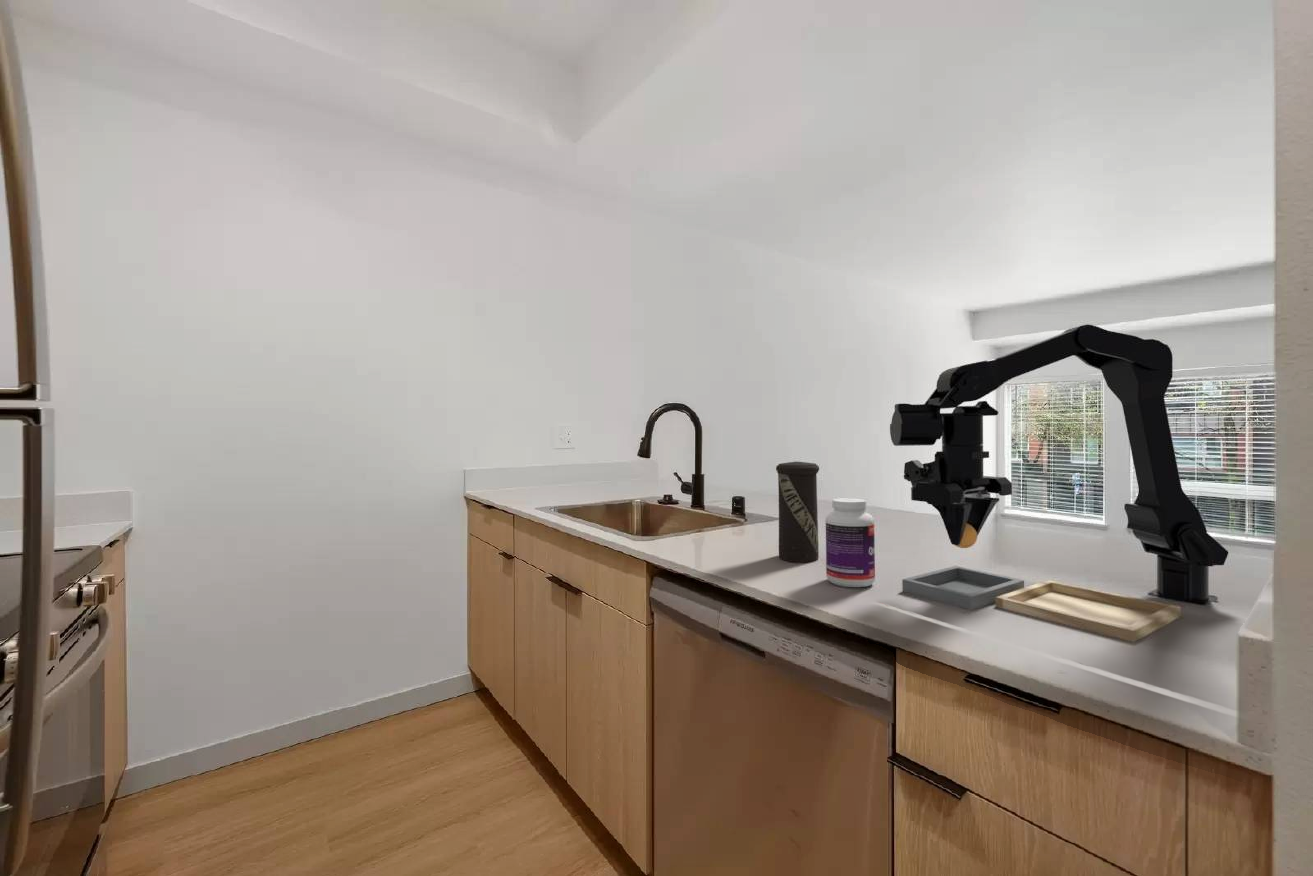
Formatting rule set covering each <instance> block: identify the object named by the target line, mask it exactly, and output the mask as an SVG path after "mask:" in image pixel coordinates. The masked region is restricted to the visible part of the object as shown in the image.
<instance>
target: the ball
mask: <svg viewBox="0 0 1313 876" xmlns="http://www.w3.org/2000/svg"><path fill="white" fill-rule="evenodd" d="M977 539H978V536H977V532H976V530H975V529H974V528H973V527H972V526H971V525H969V524H967V523H966V526H965V530H964V533H963V536H962V539H961V542H960V544H959V545H954V546H955V547H957V548H959V549H969V548H971V547H972V546H974V545H975V544H976V543H977Z"/></svg>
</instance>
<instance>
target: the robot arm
mask: <svg viewBox="0 0 1313 876" xmlns="http://www.w3.org/2000/svg"><path fill="white" fill-rule="evenodd" d="M1172 352H1173V351H1172V350H1171V347H1169V345H1168V344H1165V343H1163V342H1162V341H1160V340H1159V339H1158V340H1157V339H1155V338H1154V339H1153V338H1150V339H1149V338H1147V339H1146V338H1145V339H1144V338H1142V337H1138V336H1136V335H1132V334H1128V333H1127V334H1126V333H1123V332H1122V333H1121V332H1117V331H1111V330H1107V329H1105V328H1102V327H1100V326H1096V325H1094V324H1089V323H1087V324H1082V325H1080V326H1075V327H1072V328H1068V329H1066V330H1064V331H1063V332H1061V333H1060V334H1057V335H1055V336H1052V337H1049V338H1047V339H1044V340H1041V341H1039V342H1036V343H1034V344H1031V345H1028V346H1025V347H1023V348H1020V349H1018V350H1015V351H1012V352H1009V353H1007V354H1004V355H1001V356H999V357H997V358H996V357H995V358H993V359H987V360H983V361H976V362H973V363H967V364H964V365H960V366H956V367H952V368H951V367H950V368H948V369H946V370H944V371H942V372H941V373H940V374H939V376H938V379H937V381H936V388H935V390H934V391H933V392H932V393H931V395H930V396H929V397H928V398H927V400H926V401H925V402H924V403H923V404H910V403H896V404H894V412H893V414H892V418H891V422H890V424H889V434H890V440H891V442H892V445H893V446H895V447H900V446H901V447H902V446H907V447H909V446H918V447H919V446H934V445H935V444H936V442H937V440H941V450H939V451H935V454H934V461H931V462H926V463H922V462H921V461H920V460H919V459H916V460H910V461H907V462H904V468H903V470H904V471H903V479H904V480H906V481H907V482H910V484H911V487H910V498H911V499H910V500H911V501H914V502H915V501H916V502H926V503H927V505H931V506H932V507H933V508H935V509H936V510H937V511H938V512H939V515H940V517H941V519H942V521H943V524H944V527H945V530H946V532H947V533H946V534H947V536H948V539H949V541H950V543H951V545H953V546H955V545H959V544H960V542H961V539H962V536H963V533H964V530H965V526H966V523H967V524H969V525H971V526H972V527H973V528H974V529H975V530H976V532H977V537H978V536H979V534H980V532H981V530H982V529H983V526H984V525H985V524H986V521H987V520H988V518H989V516H990V515H991V513H992V511H993V510H994V508H995V506H996V505H997V504H998V502H1000V498H999V497H991V494H998V495H999V496H1004V497H1005V496H1011V495H1012V494H1013V483H1012V482H1011V480H1009V479H1008V478H1007V477H1006V476H990V475H984V459H989V458H990V451H987V450H984V417H987V416H988V417H989V416H990V417H991V416H993V417H994V416H998V415H999V411H998V410H997V409H995V408H994V407H992V406H991V405H990V403H988V401H986V400H981V399H982V398H983V397H985V396H987V395H989V394H991V393H993V391H996V390H997V389H999V388H1000V387H1001V386H1003V385H1004V384H1006V382H1009V381H1010V380H1012V379H1013V378H1017V377H1019V376H1022V375H1024V374H1027V373H1030V372H1034V371H1035V370H1037V369H1041V368H1043V367H1046V366H1048V365H1051V364H1055V363H1056V362H1060V361H1061V360H1065V359H1066V358H1067V359H1068V358H1071V357H1072V356H1074V357H1076V358H1078V359H1079V360H1081V361H1082V362H1083V364H1085V365H1087V366H1089V367H1092V368H1095V369H1097V370H1100V371H1101V373H1102V376H1103V379H1104V381H1105V383H1106V385H1107V387H1108V389H1109V390H1110V391H1111V392H1112V393H1113V394H1114V395H1115V397H1116V398H1117V399H1118V400H1119V401H1120V403H1121V405H1122V411H1123V415H1124V416H1123V417H1124V420H1125V426H1126V432H1127V435H1128V436H1127V437H1128V442H1129V446H1130V450H1131V456H1132V461H1133V466H1134V472H1135V477H1136V482H1137V488H1138V494H1137V496H1136V498H1135V500H1134V503H1124V508H1123V509H1124V512H1125V513H1126V516H1127V525H1126V528H1127V529H1129V530H1131V531H1132V533H1133V535H1134V537H1135V539H1138V540H1139V541H1140V542H1141V543H1140V544H1141V546H1142V548H1143V550H1144V552H1145V553H1148V554H1153V555H1156V588H1155V589H1153V590H1151V591H1149V592H1147V595H1149V596H1153V597H1159V598H1164V599H1168V600H1174V601H1179V602H1183V603H1184V602H1185V603H1189V604H1194V605H1199V606H1206V605H1208V604H1210V603H1215V602H1217V601H1218V600H1219V599H1218V596H1216V595H1211V594H1209V593H1210V592H1209V590H1210V589H1209V586H1210V585H1209V583H1210V581H1209V577H1210V575H1209V573H1210V570H1209V567H1214V566H1224V565H1225V562H1226V560H1227V558H1228V557H1229V556H1228V555H1229V551H1228V550H1227V549H1226V548H1225V547H1224V546H1223V545H1222V544H1221V543H1219V542H1218V541H1217V540H1215V538H1214V537H1213V536H1211V535H1210V534H1209V532H1208V530H1207V527H1206V524H1205V522H1204V520H1203V517H1202V515H1201V512H1200V510H1199V508H1198V507H1197V505H1195V503H1194V502H1193V501H1192V500H1191V499H1190V498H1189V497H1188V495H1187V494H1186V493H1185V492H1184V491H1183V488H1182V483H1181V477H1180V473H1179V467H1178V463H1177V458H1176V451H1175V447H1174V442H1173V437H1172V430H1171V427H1170V426H1171V425H1170V421H1169V417H1168V411H1167V405H1166V401H1165V395H1166V392H1167V391H1168V388H1169V386H1170V383H1171V382H1172V379H1173V373H1174V372H1173V368H1174V367H1173V366H1174V365H1173V362H1174V361H1173V359H1174V358H1173V353H1172ZM977 400H979V401H978V402H977V403H976V404H975V405H961V404H964V403H967V402H975V401H977ZM980 400H981V401H980ZM960 405H961V406H960ZM942 409H943V410H944V409H953V411H952V412H950V413H949V412H945V413H944V412H943V413H942V412H941V410H942Z"/></svg>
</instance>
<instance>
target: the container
mask: <svg viewBox="0 0 1313 876" xmlns="http://www.w3.org/2000/svg"><path fill="white" fill-rule="evenodd" d="M775 470H776V473H777V476H778V477H777V480H778V481H777V482H778V557H779V558H780V559H781V560H784V561H787V562H793V563H795V562H796V563H810V562H814V561H817V560H819V556H820V555H819V553H820V551H819V550H820V549H819V522H818V491H817V489H818V485H817V484H818V483H817V481H818V480H817V479H818V477H817V474H818V473H819V471H820V466H819V465H818V464H816V463H815V462H814V463H812V462H807V461H806V462H805V461H789V462H783V463H778V465H776V467H775Z"/></svg>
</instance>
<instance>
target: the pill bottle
mask: <svg viewBox="0 0 1313 876" xmlns="http://www.w3.org/2000/svg"><path fill="white" fill-rule="evenodd" d="M832 508H833V511H832V512H830V513H828V514H827V515H826V516H825V575H826V578H827V580H828V581H829V583H832V584H834V585H836V586H838V587H839V586H840V587H844V588H864V587H865V588H866V587H869V586H872V585H873V583H874V582H875V581H876V556H875V555H876V552H875V551H876V549H875V548H876V547H875V544H876V543H875V541H876V539H875V538H876V537H875V520H874V517H873V516H872V515H871V514H870V513H868V512H866V509H867V500H865V499H862V498H851V497H849V498H848V497H841V498H833V499H832Z"/></svg>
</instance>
